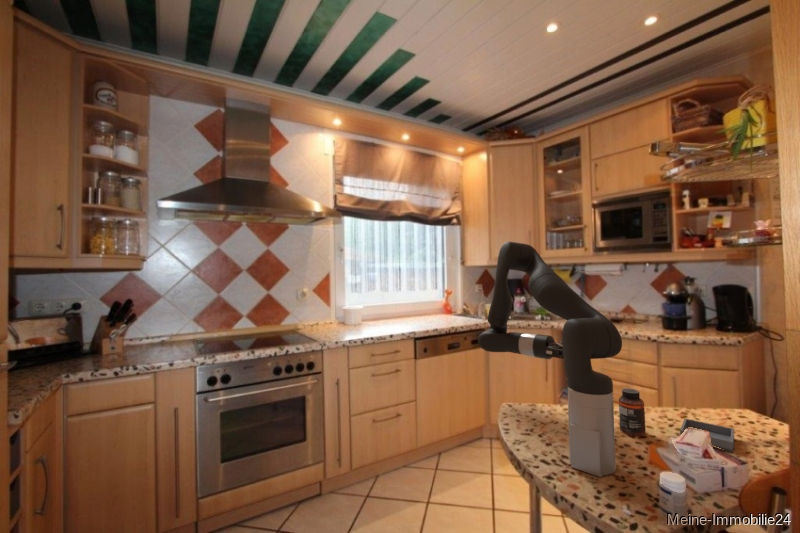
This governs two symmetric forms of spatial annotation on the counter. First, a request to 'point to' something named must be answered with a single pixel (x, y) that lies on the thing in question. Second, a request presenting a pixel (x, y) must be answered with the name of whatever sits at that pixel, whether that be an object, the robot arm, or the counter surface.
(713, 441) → the slate tray
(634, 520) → the counter surface
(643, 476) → the counter surface
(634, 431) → the supplement bottle
